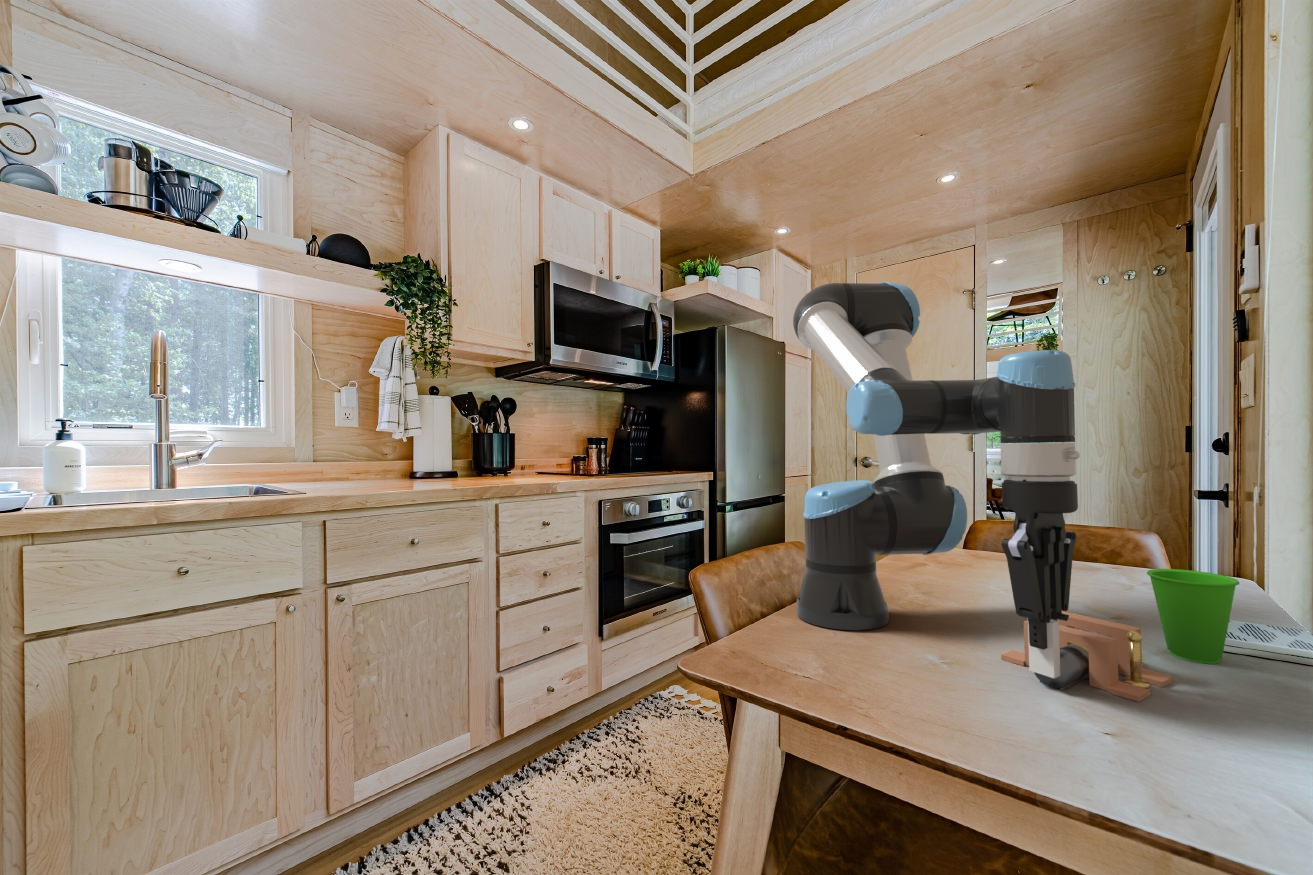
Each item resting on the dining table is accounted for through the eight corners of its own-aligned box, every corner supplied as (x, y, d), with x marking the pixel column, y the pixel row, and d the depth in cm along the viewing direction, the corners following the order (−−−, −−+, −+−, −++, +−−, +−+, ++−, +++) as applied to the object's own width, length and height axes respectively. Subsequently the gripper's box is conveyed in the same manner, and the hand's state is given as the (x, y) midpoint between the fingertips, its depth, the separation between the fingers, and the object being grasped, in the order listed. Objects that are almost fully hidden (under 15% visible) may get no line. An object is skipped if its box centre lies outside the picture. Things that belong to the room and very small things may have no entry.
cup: (1264, 672, 68) (1260, 585, 68) (1180, 667, 70) (1176, 582, 70) (1206, 646, 77) (1203, 569, 77) (1133, 642, 79) (1130, 567, 79)
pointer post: (1119, 683, 66) (1117, 630, 66) (1128, 679, 67) (1125, 626, 67) (1144, 691, 63) (1142, 636, 64) (1153, 686, 65) (1150, 632, 65)
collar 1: (1001, 659, 74) (999, 616, 74) (1013, 654, 75) (1012, 612, 75) (1138, 701, 61) (1136, 650, 61) (1150, 695, 62) (1148, 645, 63)
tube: (1066, 692, 64) (1065, 661, 64) (1033, 681, 67) (1032, 651, 67) (1125, 663, 71) (1124, 636, 72) (1093, 654, 75) (1092, 628, 75)
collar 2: (1027, 648, 77) (1026, 608, 77) (1039, 644, 79) (1037, 604, 79) (1162, 687, 64) (1161, 638, 65) (1173, 681, 66) (1171, 633, 66)
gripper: (1045, 482, 59) (1052, 698, 58) (1099, 477, 65) (1106, 672, 65) (976, 479, 66) (982, 673, 65) (1032, 475, 72) (1038, 652, 71)
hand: (1044, 672), depth 65 cm, fingers closed
